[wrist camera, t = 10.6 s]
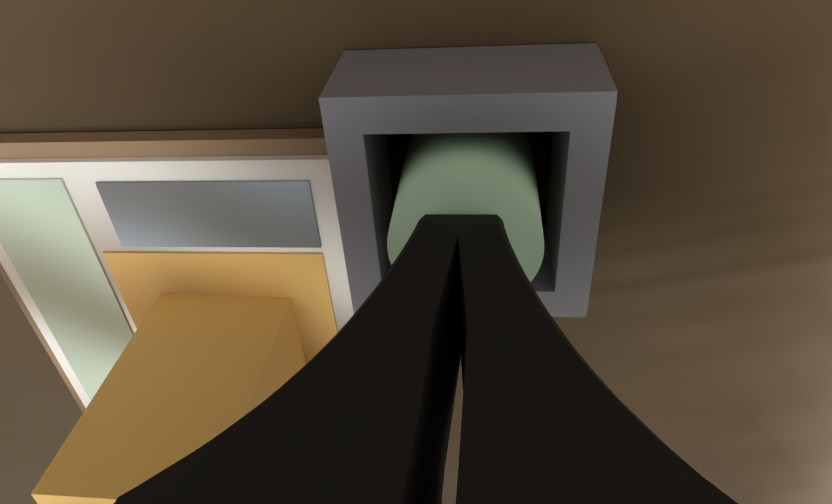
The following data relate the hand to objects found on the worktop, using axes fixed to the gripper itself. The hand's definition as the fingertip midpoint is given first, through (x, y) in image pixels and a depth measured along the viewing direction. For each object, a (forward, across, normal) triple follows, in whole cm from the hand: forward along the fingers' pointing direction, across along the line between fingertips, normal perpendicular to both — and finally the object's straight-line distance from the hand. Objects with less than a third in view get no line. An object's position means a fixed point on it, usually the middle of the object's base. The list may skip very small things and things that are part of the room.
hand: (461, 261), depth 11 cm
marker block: (+3, +6, +5) cm, 9 cm away
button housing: (+4, 0, 0) cm, 4 cm away
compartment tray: (+4, +8, +4) cm, 9 cm away
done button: (+3, 0, 0) cm, 3 cm away
